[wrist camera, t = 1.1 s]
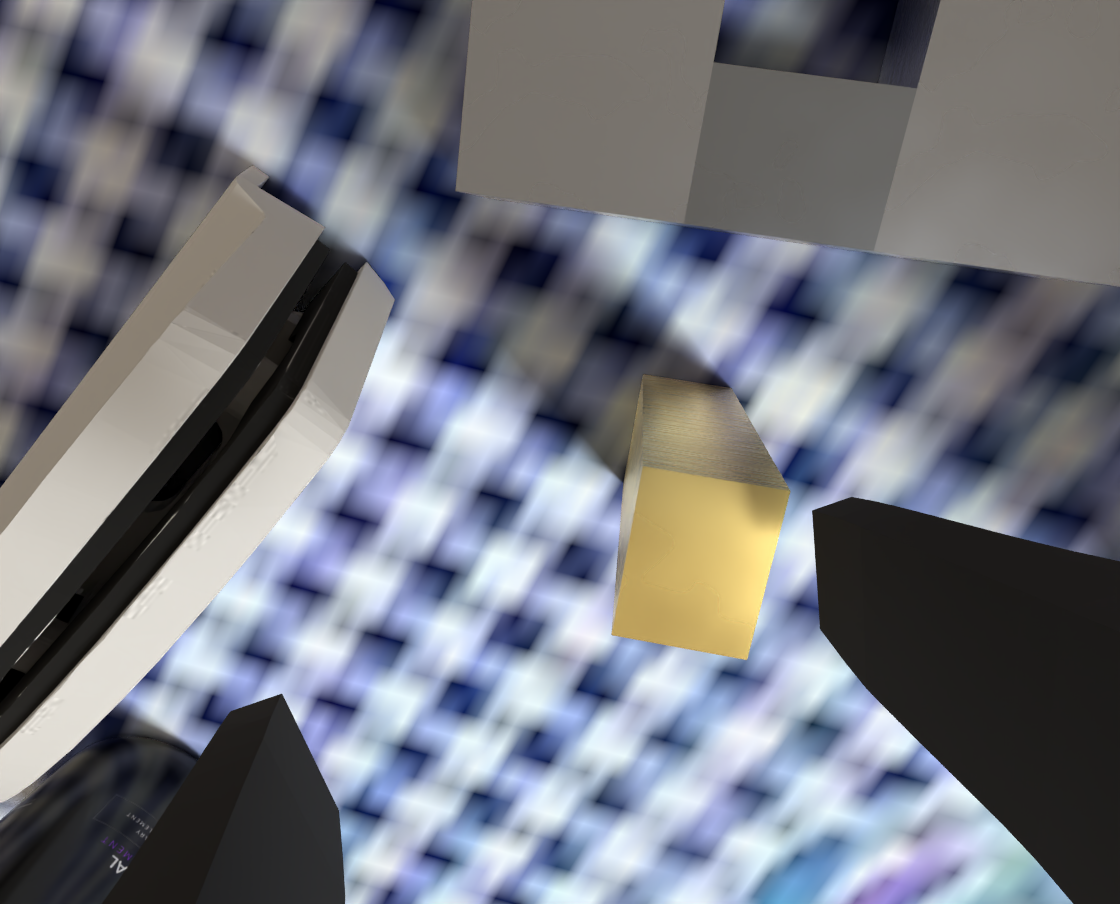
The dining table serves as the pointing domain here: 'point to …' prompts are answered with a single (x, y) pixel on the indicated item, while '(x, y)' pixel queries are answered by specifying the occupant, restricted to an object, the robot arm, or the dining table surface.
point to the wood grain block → (695, 521)
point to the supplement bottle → (88, 821)
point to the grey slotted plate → (813, 130)
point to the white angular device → (172, 465)
